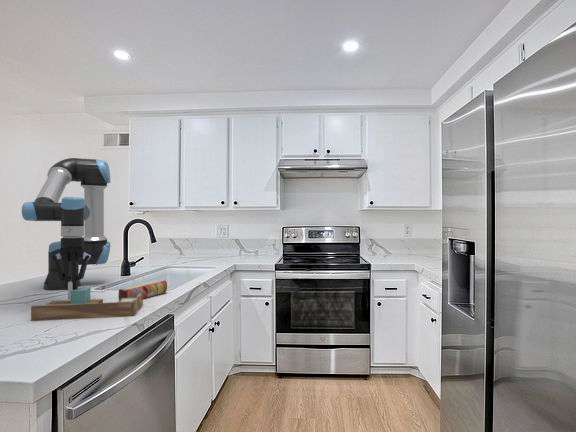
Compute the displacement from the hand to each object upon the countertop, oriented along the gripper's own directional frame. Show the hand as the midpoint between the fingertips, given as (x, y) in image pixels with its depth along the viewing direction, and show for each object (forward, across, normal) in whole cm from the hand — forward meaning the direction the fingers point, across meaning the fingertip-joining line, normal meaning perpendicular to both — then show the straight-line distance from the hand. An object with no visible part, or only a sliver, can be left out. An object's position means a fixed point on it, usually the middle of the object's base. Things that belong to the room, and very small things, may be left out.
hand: (71, 298), depth 125 cm
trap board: (+5, +8, -3) cm, 10 cm away
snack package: (+5, +23, +16) cm, 28 cm away
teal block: (+2, +3, 0) cm, 4 cm away
